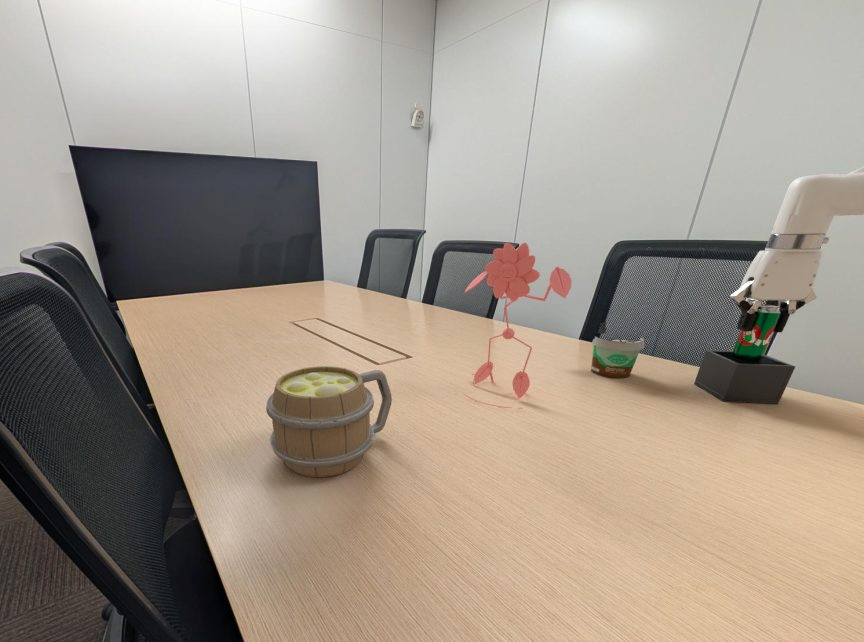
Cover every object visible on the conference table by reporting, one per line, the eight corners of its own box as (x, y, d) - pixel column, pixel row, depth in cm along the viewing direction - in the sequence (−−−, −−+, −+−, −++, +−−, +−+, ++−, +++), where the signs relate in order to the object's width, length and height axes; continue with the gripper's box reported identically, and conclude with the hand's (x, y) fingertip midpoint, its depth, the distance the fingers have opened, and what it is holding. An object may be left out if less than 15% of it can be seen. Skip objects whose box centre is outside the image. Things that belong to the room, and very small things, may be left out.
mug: (420, 451, 69) (424, 376, 63) (297, 500, 58) (288, 413, 52) (365, 414, 84) (364, 350, 78) (259, 446, 72) (248, 374, 67)
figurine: (468, 372, 106) (482, 241, 93) (559, 402, 87) (593, 242, 74) (431, 385, 98) (440, 243, 85) (522, 421, 79) (553, 245, 65)
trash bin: (742, 386, 93) (757, 351, 89) (778, 404, 83) (795, 366, 80) (693, 384, 95) (705, 350, 91) (722, 401, 85) (737, 364, 82)
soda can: (753, 356, 87) (774, 304, 83) (767, 362, 83) (790, 309, 78) (726, 354, 89) (745, 303, 84) (738, 360, 85) (759, 307, 80)
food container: (594, 379, 100) (603, 342, 96) (585, 371, 105) (593, 336, 101) (645, 380, 98) (656, 343, 94) (633, 372, 103) (643, 337, 99)
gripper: (827, 242, 78) (790, 327, 85) (731, 243, 81) (703, 325, 88) (864, 243, 71) (820, 336, 78) (758, 245, 75) (725, 333, 81)
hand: (758, 329), depth 83 cm, fingers closed on soda can, 5 cm apart
